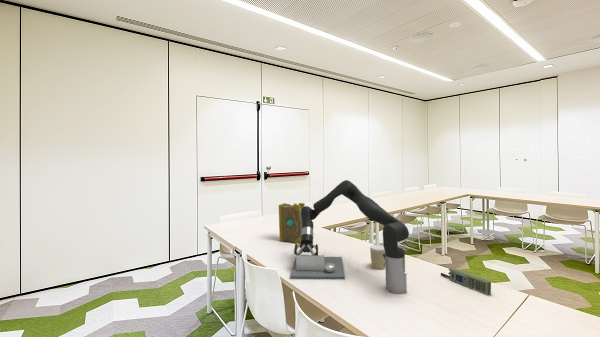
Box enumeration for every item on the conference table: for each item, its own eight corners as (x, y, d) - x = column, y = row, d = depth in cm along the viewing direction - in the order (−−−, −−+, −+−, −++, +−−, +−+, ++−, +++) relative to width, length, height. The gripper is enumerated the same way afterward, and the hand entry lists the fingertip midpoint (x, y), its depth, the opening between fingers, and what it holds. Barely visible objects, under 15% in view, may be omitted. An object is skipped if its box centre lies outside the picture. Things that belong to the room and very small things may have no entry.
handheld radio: (487, 296, 131) (438, 276, 153) (491, 294, 133) (442, 275, 155) (488, 282, 131) (439, 264, 153) (492, 280, 133) (443, 263, 154)
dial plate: (341, 259, 183) (341, 256, 183) (345, 279, 153) (344, 276, 153) (295, 259, 185) (295, 256, 185) (290, 278, 156) (290, 276, 155)
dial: (335, 268, 163) (334, 254, 163) (335, 272, 157) (334, 257, 157) (297, 267, 166) (297, 253, 166) (296, 271, 160) (295, 257, 160)
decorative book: (278, 241, 224) (277, 204, 223) (285, 237, 234) (284, 201, 233) (300, 244, 215) (299, 205, 214) (307, 240, 225) (306, 203, 224)
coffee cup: (387, 270, 163) (387, 250, 162) (370, 269, 164) (370, 249, 164) (385, 264, 172) (385, 245, 171) (370, 263, 174) (369, 244, 173)
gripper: (319, 239, 176) (318, 264, 165) (296, 238, 178) (294, 263, 167) (318, 233, 170) (317, 259, 160) (295, 233, 172) (292, 258, 162)
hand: (305, 261), depth 163 cm, fingers open, 8 cm apart
